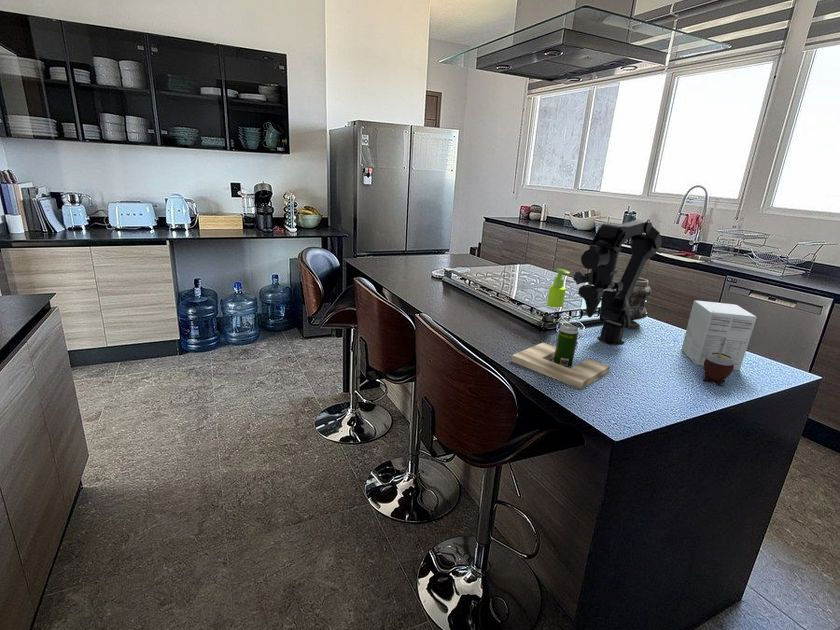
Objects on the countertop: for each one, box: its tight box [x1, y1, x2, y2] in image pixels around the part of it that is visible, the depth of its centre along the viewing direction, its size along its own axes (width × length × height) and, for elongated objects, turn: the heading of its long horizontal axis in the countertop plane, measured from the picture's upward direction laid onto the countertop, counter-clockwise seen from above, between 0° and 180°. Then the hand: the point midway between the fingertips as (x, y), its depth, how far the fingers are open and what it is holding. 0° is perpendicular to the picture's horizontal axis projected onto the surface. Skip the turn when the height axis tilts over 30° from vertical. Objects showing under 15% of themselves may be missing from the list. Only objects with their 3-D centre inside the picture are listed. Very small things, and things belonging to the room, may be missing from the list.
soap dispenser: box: [546, 268, 571, 308], centre depth 171 cm, size 6×7×20 cm
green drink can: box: [553, 323, 579, 369], centre depth 133 cm, size 5×5×12 cm
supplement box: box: [680, 300, 758, 371], centre depth 144 cm, size 13×13×18 cm
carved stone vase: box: [628, 277, 652, 329], centre depth 173 cm, size 12×12×18 cm
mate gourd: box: [702, 338, 734, 387], centre depth 129 cm, size 8×8×15 cm
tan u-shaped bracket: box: [511, 342, 611, 390], centre depth 134 cm, size 17×22×2 cm
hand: (596, 314), depth 145 cm, fingers open, 9 cm apart
